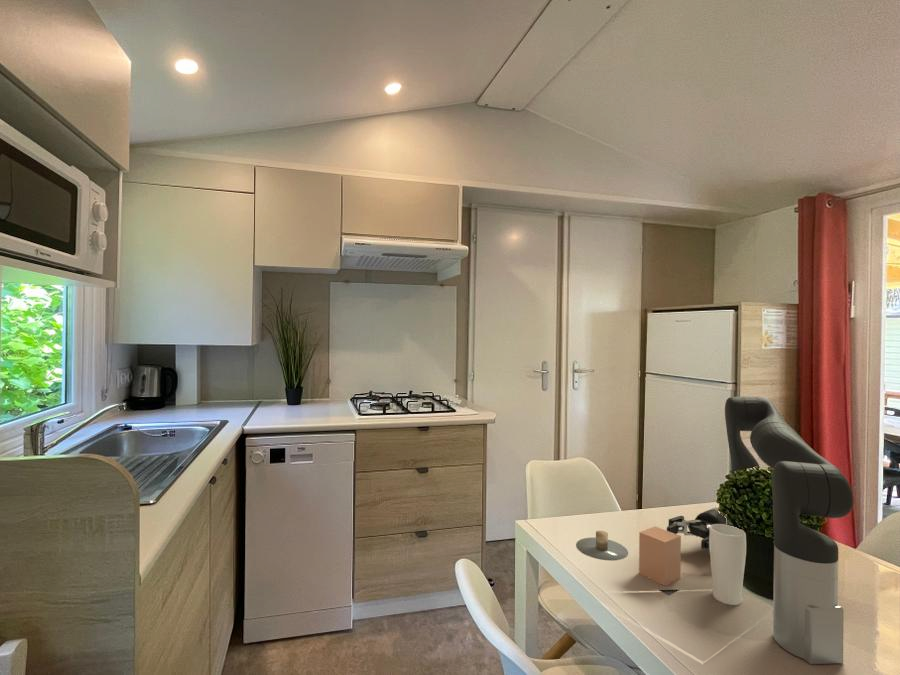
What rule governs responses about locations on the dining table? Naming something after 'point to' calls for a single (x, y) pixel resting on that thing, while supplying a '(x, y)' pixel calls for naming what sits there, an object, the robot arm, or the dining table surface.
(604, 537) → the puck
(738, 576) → the drinking glass
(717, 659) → the dining table surface
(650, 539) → the orange brown block
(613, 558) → the plate
